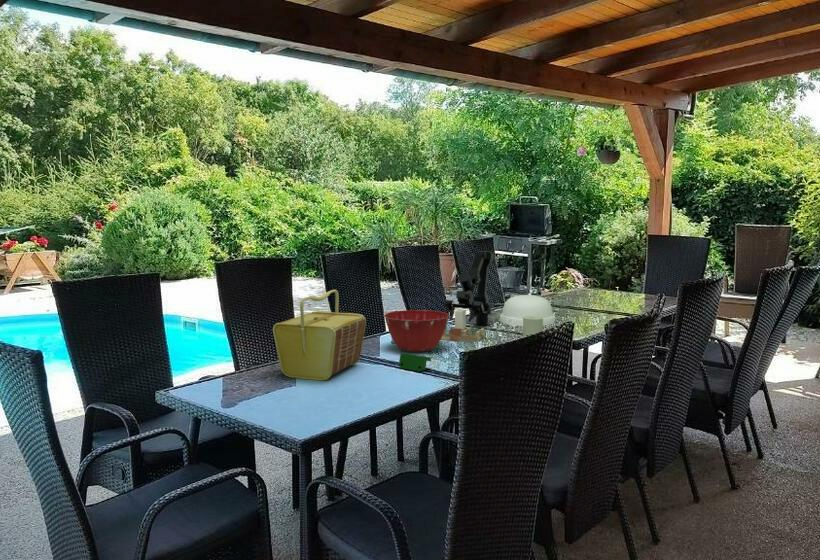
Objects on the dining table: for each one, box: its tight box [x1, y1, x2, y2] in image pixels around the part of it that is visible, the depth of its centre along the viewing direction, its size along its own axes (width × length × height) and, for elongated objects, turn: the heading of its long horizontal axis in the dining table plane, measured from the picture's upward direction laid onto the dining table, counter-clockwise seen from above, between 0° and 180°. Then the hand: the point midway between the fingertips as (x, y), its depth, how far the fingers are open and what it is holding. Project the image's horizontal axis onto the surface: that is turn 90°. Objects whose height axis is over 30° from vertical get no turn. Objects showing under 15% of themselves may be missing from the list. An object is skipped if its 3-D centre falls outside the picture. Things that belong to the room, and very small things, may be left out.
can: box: [522, 316, 544, 337], centre depth 287 cm, size 9×9×12 cm
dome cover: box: [499, 294, 556, 327], centre depth 339 cm, size 32×30×14 cm
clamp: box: [398, 352, 432, 372], centre depth 242 cm, size 12×6×9 cm, turn 48°
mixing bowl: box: [383, 309, 450, 353], centre depth 275 cm, size 28×28×15 cm
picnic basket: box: [272, 289, 367, 381], centre depth 238 cm, size 29×26×30 cm
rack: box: [440, 326, 485, 343], centre depth 296 cm, size 13×20×6 cm, turn 67°
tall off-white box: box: [454, 309, 467, 331], centre depth 296 cm, size 5×4×13 cm
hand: (459, 320), depth 295 cm, fingers open, 9 cm apart
